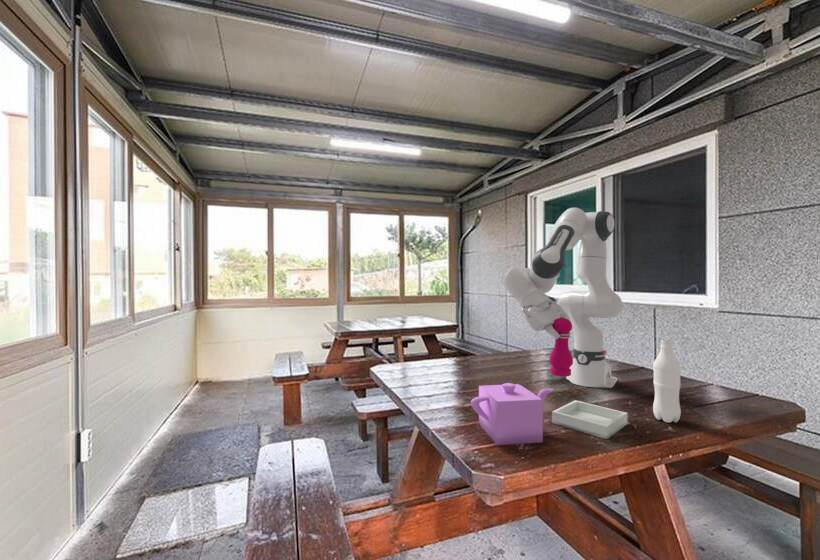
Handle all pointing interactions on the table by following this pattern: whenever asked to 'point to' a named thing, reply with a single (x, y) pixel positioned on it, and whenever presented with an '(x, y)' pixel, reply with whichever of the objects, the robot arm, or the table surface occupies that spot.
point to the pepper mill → (561, 348)
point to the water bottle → (666, 384)
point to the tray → (590, 419)
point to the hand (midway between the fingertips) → (563, 336)
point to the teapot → (510, 413)
